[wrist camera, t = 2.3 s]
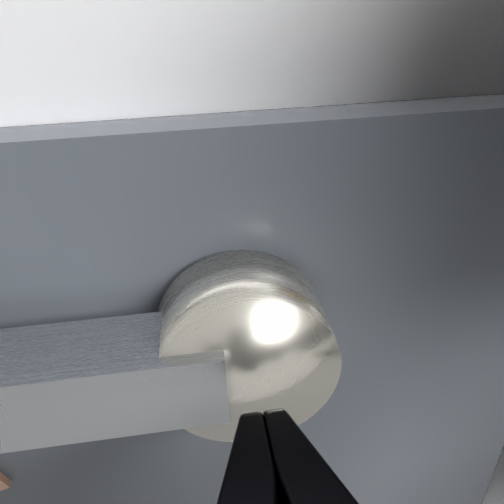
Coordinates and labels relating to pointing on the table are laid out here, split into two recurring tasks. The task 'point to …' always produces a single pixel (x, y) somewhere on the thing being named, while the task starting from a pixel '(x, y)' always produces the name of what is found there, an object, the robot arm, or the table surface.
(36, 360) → the peg lever
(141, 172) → the tuner board
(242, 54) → the table surface
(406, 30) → the table surface
